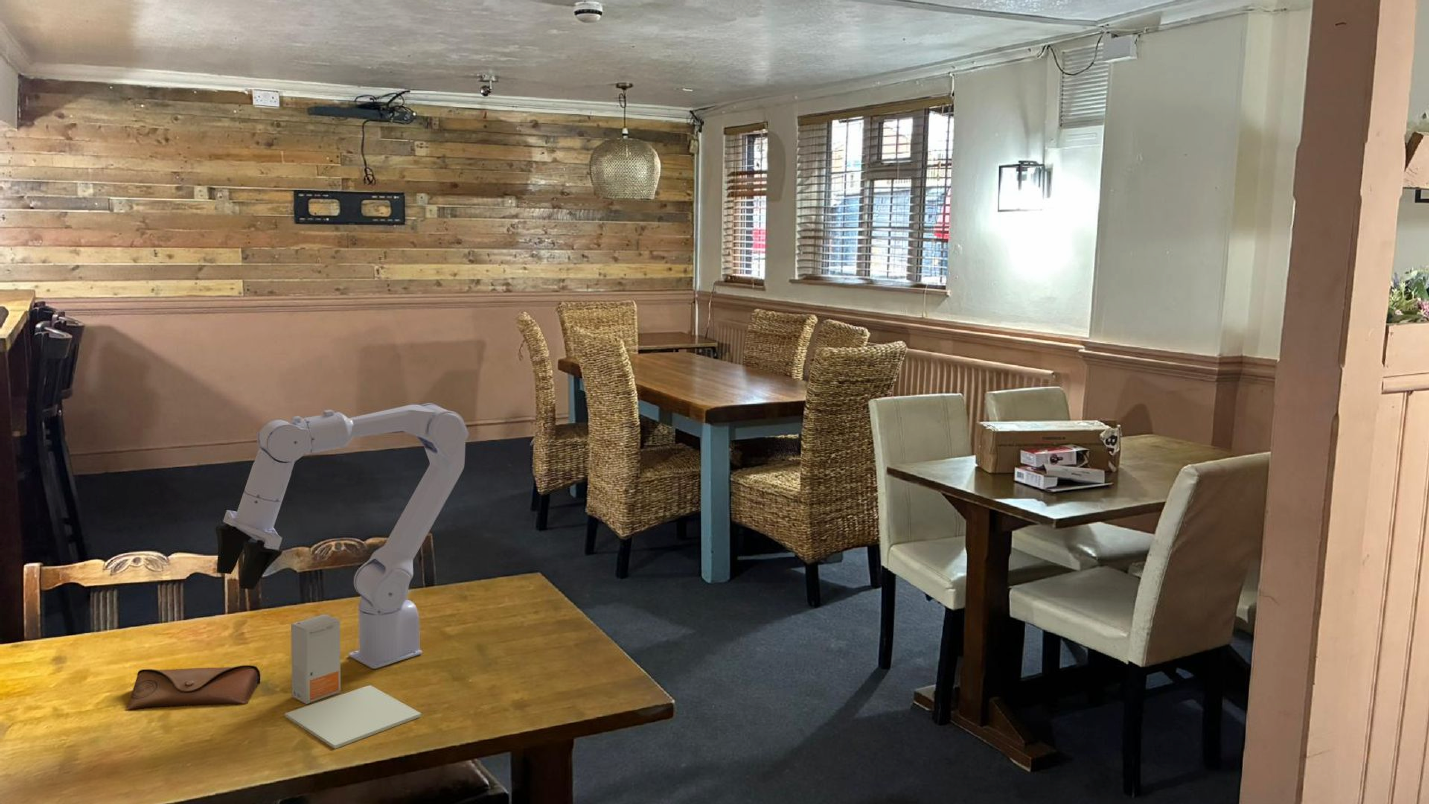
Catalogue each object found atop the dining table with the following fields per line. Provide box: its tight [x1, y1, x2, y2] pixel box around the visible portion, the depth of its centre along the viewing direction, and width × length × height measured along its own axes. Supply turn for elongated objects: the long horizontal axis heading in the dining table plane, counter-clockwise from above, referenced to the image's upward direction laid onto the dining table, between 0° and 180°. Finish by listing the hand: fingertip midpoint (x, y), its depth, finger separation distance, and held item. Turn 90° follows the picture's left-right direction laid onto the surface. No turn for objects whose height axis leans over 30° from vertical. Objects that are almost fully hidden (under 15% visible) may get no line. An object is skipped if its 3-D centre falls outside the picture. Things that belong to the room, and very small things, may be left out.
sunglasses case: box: [124, 664, 261, 712], centre depth 161 cm, size 18×7×7 cm, turn 103°
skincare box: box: [290, 613, 342, 705], centre depth 162 cm, size 6×4×12 cm
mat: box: [284, 684, 422, 750], centre depth 156 cm, size 14×14×1 cm
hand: (234, 580), depth 162 cm, fingers open, 7 cm apart
